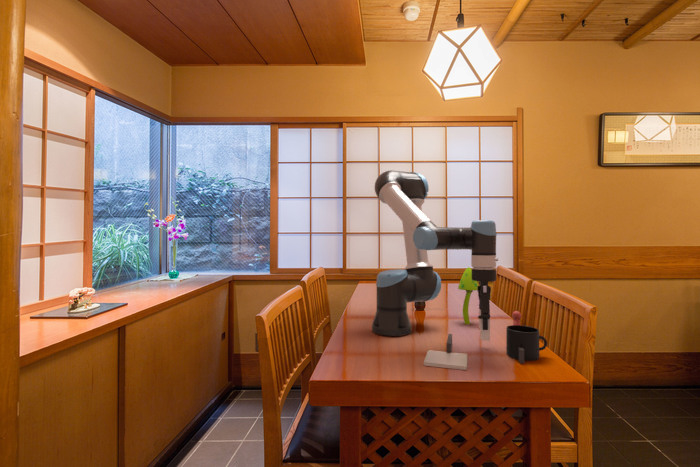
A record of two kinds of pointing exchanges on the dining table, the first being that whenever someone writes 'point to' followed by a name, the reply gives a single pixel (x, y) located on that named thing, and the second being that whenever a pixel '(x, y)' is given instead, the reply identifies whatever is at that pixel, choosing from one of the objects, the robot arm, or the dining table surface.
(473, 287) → the mushroom
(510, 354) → the mug
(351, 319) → the dining table surface
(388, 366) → the dining table surface
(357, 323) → the dining table surface
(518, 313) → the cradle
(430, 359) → the plate
